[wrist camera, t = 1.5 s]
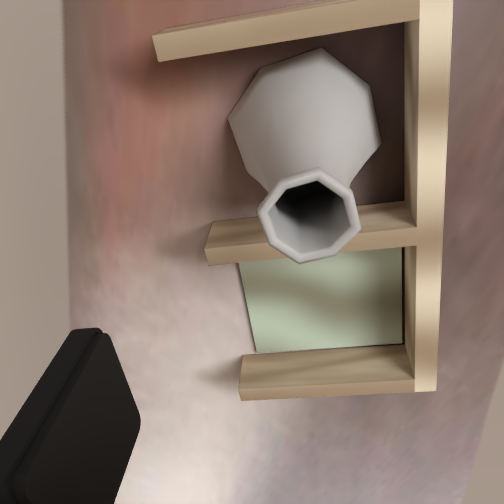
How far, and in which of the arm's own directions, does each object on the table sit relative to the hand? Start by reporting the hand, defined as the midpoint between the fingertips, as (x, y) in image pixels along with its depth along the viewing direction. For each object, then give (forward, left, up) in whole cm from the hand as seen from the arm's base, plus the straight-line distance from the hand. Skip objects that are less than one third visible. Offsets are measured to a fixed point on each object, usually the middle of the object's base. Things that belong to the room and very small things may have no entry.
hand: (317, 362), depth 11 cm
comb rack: (+4, 0, -16) cm, 16 cm away
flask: (-1, 0, -16) cm, 16 cm away
